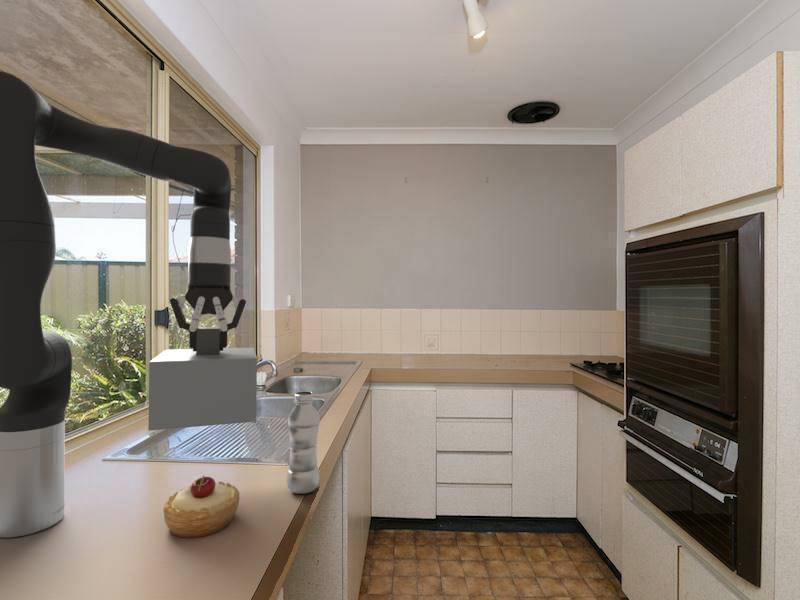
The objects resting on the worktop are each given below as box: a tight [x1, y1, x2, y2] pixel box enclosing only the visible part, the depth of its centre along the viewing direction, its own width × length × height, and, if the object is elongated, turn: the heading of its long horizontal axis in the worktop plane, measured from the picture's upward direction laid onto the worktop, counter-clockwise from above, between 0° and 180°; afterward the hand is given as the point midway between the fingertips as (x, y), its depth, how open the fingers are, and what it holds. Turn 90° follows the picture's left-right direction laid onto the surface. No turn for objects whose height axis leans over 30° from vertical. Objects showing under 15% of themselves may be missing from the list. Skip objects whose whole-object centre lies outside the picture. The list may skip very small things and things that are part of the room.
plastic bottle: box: [286, 390, 321, 495], centre depth 87 cm, size 6×7×20 cm
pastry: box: [163, 475, 241, 539], centre depth 75 cm, size 12×12×9 cm
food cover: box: [148, 326, 258, 431], centre depth 83 cm, size 17×17×17 cm
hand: (208, 350), depth 83 cm, fingers closed on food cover, 4 cm apart
